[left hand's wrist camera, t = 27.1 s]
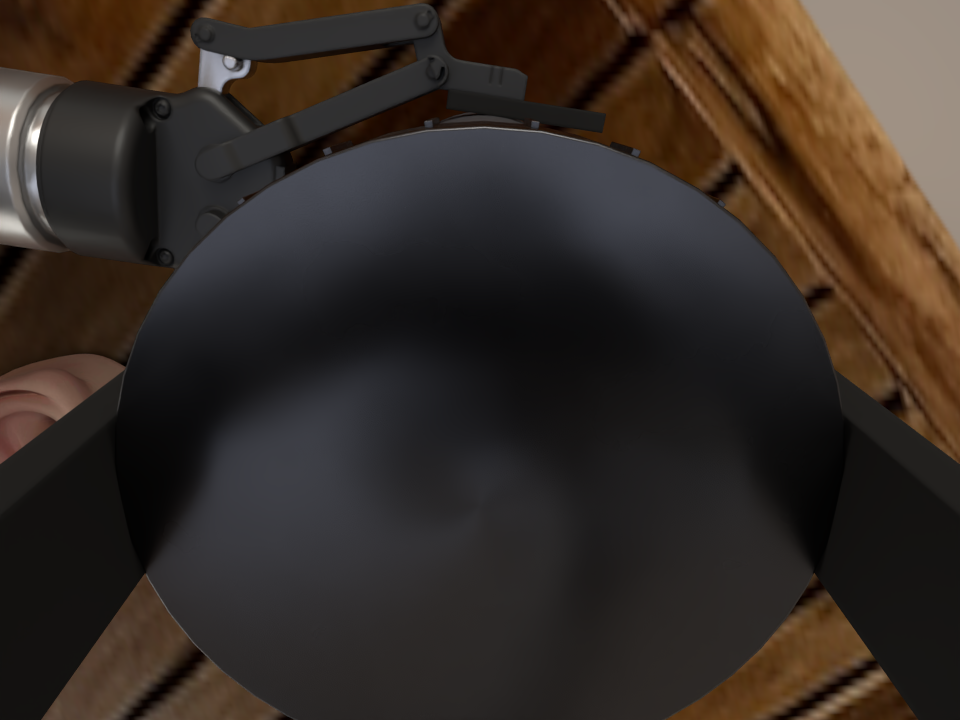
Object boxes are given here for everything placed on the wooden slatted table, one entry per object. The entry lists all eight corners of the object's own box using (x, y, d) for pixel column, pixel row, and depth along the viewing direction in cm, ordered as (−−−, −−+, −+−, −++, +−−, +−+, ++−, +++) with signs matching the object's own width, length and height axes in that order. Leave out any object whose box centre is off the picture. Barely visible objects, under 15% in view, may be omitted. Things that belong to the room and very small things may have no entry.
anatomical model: (171, 408, 36) (149, 575, 40) (199, 379, 40) (177, 534, 44) (-87, 344, 35) (-82, 523, 39) (-32, 321, 39) (-33, 486, 43)
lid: (84, 163, 10) (-11, 177, 8) (803, 70, 10) (885, 62, 8) (254, 693, 14) (217, 791, 12) (776, 645, 14) (827, 738, 12)
